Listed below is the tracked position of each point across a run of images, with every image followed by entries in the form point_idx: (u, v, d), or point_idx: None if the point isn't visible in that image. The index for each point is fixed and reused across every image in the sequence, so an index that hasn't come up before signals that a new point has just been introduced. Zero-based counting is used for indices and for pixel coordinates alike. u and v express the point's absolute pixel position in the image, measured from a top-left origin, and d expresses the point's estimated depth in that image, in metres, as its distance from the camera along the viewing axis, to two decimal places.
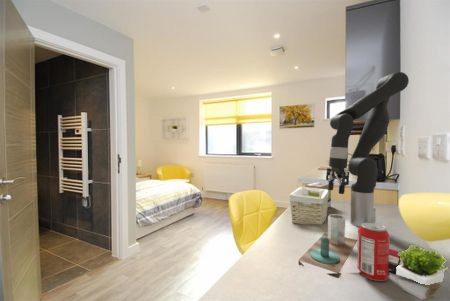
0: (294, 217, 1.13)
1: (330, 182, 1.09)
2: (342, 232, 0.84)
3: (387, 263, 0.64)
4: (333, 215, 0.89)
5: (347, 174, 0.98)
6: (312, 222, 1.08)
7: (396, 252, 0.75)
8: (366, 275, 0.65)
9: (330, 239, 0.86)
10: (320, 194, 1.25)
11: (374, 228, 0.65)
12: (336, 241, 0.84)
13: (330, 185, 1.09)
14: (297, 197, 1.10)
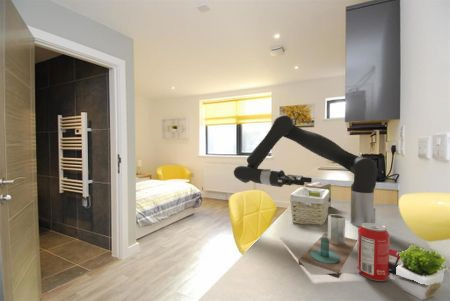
0: (294, 217, 1.13)
1: None
2: (342, 232, 0.84)
3: (387, 263, 0.64)
4: (333, 215, 0.89)
5: (280, 180, 0.94)
6: (312, 222, 1.08)
7: (395, 252, 0.75)
8: (366, 275, 0.65)
9: (330, 239, 0.86)
10: (321, 194, 1.25)
11: (374, 228, 0.65)
12: (336, 241, 0.84)
13: (305, 181, 0.98)
14: (297, 197, 1.10)
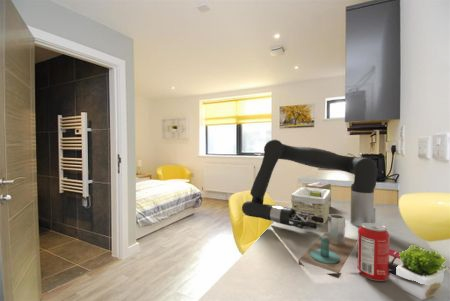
0: None
1: (314, 219, 0.96)
2: (342, 232, 0.84)
3: (387, 263, 0.64)
4: (333, 215, 0.89)
5: (291, 221, 0.92)
6: None
7: (393, 251, 0.75)
8: (366, 275, 0.65)
9: (330, 239, 0.86)
10: (322, 194, 1.25)
11: (374, 228, 0.65)
12: (336, 241, 0.84)
13: (317, 220, 0.95)
14: (298, 197, 1.10)
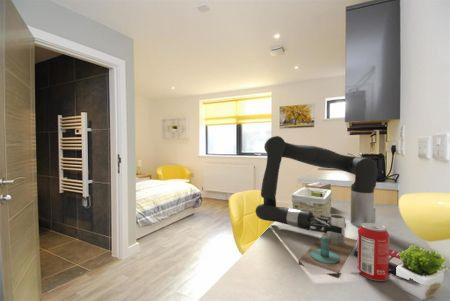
0: None
1: None
2: (342, 232, 0.84)
3: (387, 263, 0.64)
4: (333, 215, 0.89)
5: (313, 226, 0.86)
6: None
7: (391, 251, 0.76)
8: (366, 275, 0.65)
9: (330, 239, 0.86)
10: (323, 194, 1.24)
11: (374, 228, 0.65)
12: (336, 241, 0.84)
13: None
14: (299, 197, 1.10)
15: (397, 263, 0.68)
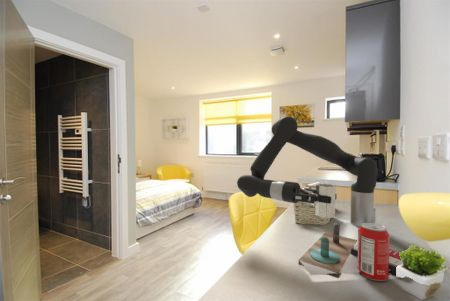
0: (297, 217, 1.12)
1: None
2: (332, 202, 0.72)
3: (387, 263, 0.64)
4: (322, 185, 0.77)
5: (299, 196, 0.74)
6: (315, 222, 1.08)
7: None
8: (366, 275, 0.65)
9: (318, 211, 0.74)
10: None
11: (374, 228, 0.65)
12: (325, 213, 0.73)
13: None
14: None
15: (392, 262, 0.69)
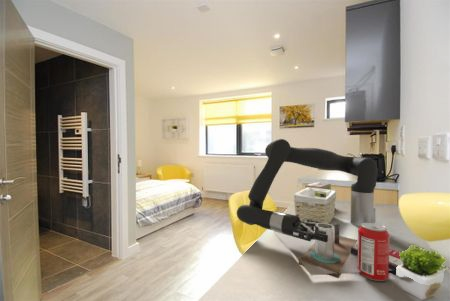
0: None
1: None
2: (331, 244, 0.73)
3: (387, 263, 0.64)
4: (321, 224, 0.78)
5: (296, 232, 0.75)
6: None
7: None
8: (366, 275, 0.65)
9: (317, 252, 0.75)
10: (327, 195, 1.23)
11: (374, 228, 0.65)
12: (324, 254, 0.73)
13: None
14: (301, 197, 1.10)
15: (391, 261, 0.70)
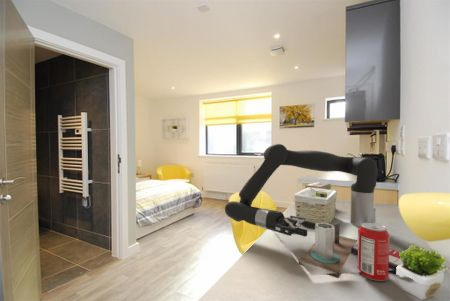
0: None
1: (304, 225, 0.84)
2: (331, 244, 0.73)
3: (387, 263, 0.64)
4: (321, 224, 0.78)
5: (278, 227, 0.79)
6: (316, 223, 1.07)
7: None
8: (366, 275, 0.65)
9: (317, 252, 0.75)
10: (328, 195, 1.23)
11: (374, 228, 0.65)
12: (324, 254, 0.73)
13: (308, 226, 0.83)
14: (301, 197, 1.10)
15: (392, 261, 0.70)
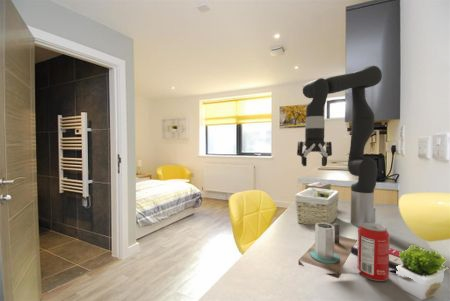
0: (300, 217, 1.12)
1: (322, 157, 0.97)
2: (331, 244, 0.73)
3: (387, 263, 0.64)
4: (321, 224, 0.78)
5: (299, 144, 0.94)
6: None
7: None
8: (366, 275, 0.65)
9: (317, 252, 0.75)
10: (330, 195, 1.22)
11: (374, 228, 0.65)
12: (324, 254, 0.73)
13: (322, 160, 0.96)
14: (302, 197, 1.10)
15: (392, 260, 0.70)
